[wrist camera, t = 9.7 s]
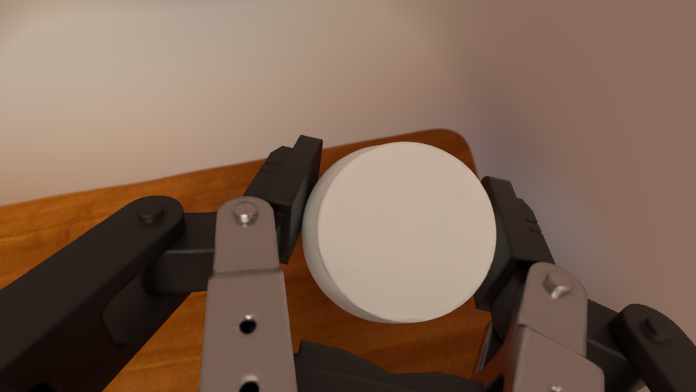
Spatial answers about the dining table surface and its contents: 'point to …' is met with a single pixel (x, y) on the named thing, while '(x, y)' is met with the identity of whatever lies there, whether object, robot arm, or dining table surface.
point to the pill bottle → (399, 233)
